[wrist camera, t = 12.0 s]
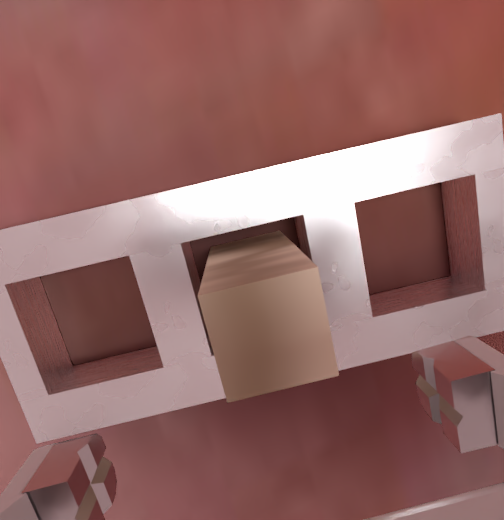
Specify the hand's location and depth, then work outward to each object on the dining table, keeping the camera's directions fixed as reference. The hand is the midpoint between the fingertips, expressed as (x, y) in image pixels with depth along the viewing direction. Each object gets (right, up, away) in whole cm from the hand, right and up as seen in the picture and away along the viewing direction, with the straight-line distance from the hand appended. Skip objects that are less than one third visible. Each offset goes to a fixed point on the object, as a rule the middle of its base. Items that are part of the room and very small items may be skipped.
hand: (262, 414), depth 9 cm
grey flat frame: (0, +3, +12) cm, 12 cm away
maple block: (0, +3, +12) cm, 12 cm away
